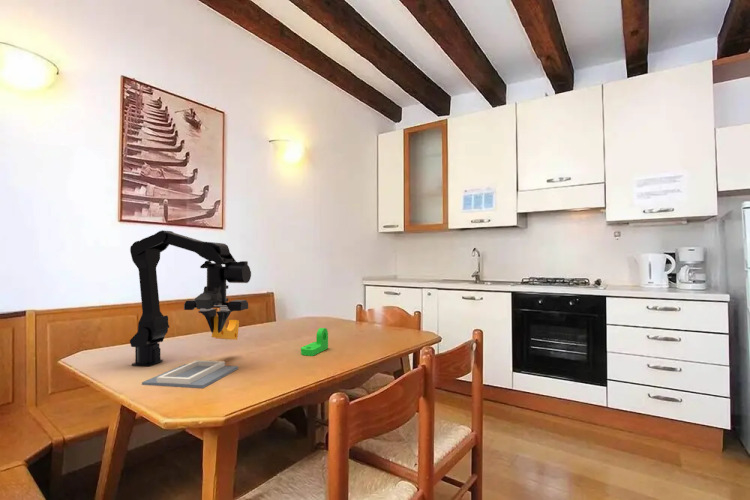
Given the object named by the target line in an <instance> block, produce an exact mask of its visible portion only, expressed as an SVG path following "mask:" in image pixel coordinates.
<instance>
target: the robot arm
mask: <svg viewBox="0 0 750 500" xmlns="http://www.w3.org/2000/svg"><path fill="white" fill-rule="evenodd" d="M169 246H174V247H176V248H179V249H183V250H187V251H190V252H193V253H195V254H197V255H198V256H199V257H201V258H203V259H205V261H204V262H203V264H201V265H200V266H199V268H200V269H206V286H204V288H203V292H202V293H200V294H199V295H197V296H196V297H195V298H194V299H190V300H185V302H184V303H183V310H184V311H193V310H195V309H197V310H198V313H199V314H202V316H204V317H205V320H206V321H207V324H208V327H209V330H210V332H211V334H212V333H213V330H214V316H218V333H220V332H221V331H222V329H223V327H224V324H225V325H226V322H227V320H228V318H229V316H230V315H231V313H232V312H240V311H244V310H247V309H249V302H248V301H247V299H234V300H230V301H229V298H228V297H227V290H228V289H229V285H227V283H229V284H248V283H249V282H250V280H251V279H252V278H251V277H252V271H251V268H250V266H249V263H248V260H245V261H244V260H243V261H241V260H240V261H237V260H236V259H235V257H234V256H233V255H232V254H231V252H230V251H231V250H230V248H229V246H228V245H227V244H226V243H223V242H222V243H221V242H210V241H203V240H200V239H196V238H192V237H189V236H186V235H182V234H179V233H176V232H173V231H170V230H159V231H157V232H156V233H154V234H151V235H150V236H149V235H148V236H147V237H145V238H142V239H140V240H137V241H134V242H133V243H132V245H130V248H129V251H130V255H131V260H132V262H133V264H134V265H135V266H136V268H137V270H138V276H139V289H140V297H141V298H140V299H141V300H140V301H141V310H142V311H141V312H142V314H141V316H140V319H139V321H138V323H137V332H136V333H135V334H134V335H133V337H131V339H129V343H130V347H132V348H135V354H134V355H135V360H134V361H135V362H132V363H131V366H141V367H150V366H153V365H156V364H159V363H160V362H161V363H162V362H163V361H164V359H161V348H160V343H163V342H164V339H165V336H166V335H167V333H168V331H169V328H170V325H169V315H164V314H163V313H162V311H161V308H160V306H161V305H160V296H159V285H158V275H157V267H158V264H159V262H160V261H161V253H162V252H164V251H165V250H167V248H168V247H169ZM223 265H224V266H223ZM217 308H218V309H219V310H218V311H217Z"/></svg>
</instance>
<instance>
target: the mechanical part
mask: <svg viewBox="0 0 750 500" xmlns="http://www.w3.org/2000/svg"><path fill="white" fill-rule="evenodd" d="M328 348H329V331H328V328H326V327H319V328H318V329H317V332H316V340H315V341H312V342H311V343H308V344H306V345H303V346H301V347H300V355H301V356H309V357H313V356H316V355H317V354H320V353H322V352H324V351H325V350H327V349H328Z"/></svg>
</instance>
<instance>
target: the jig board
mask: <svg viewBox="0 0 750 500" xmlns="http://www.w3.org/2000/svg"><path fill="white" fill-rule="evenodd" d="M238 369H239V366H237V365H226V362H225V360H222V361H221V360H197V359H196V360H194V361H192V362H190V363H183V364H181V365H179V366H177V367H175V368H172V369H170V370H168V371H165V372H162V373H161V374H158V375H157V376H154V377H150V378H149V379H146V380H144V381H142V382H141V385H143V386H155V387H156V386H157V387H171V388H172V387H173V388H189V389H204V388H206V387H208V386H210V385H212V384H213V383H215V382H217V381H219V380H221V379H222V378H224V377H226V376H228V375H229V374H232V373H233V372H235V371H236V370H238Z"/></svg>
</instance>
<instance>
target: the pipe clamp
mask: <svg viewBox="0 0 750 500" xmlns="http://www.w3.org/2000/svg"><path fill="white" fill-rule="evenodd" d="M228 322H229V323H228V325H227V326H226V323H225V324H224V327H223V329H222V331H221V332H220V333H218V315H216V316H214V330H213V333H212V332H211V338H214V339H218V340H225V341H226V340H228V341H229V340H231V341H232V340H234V341H235V340H236V341H237V340H238V336H239V328H240V327H239V326H240V320H238V319H229V321H228Z"/></svg>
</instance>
